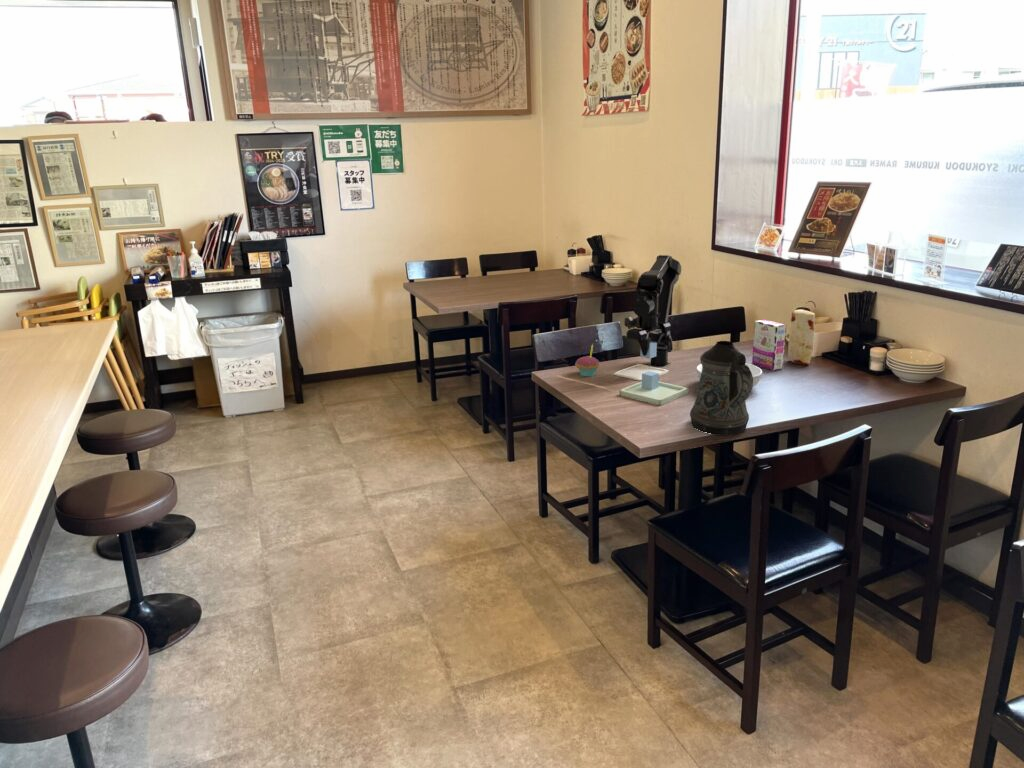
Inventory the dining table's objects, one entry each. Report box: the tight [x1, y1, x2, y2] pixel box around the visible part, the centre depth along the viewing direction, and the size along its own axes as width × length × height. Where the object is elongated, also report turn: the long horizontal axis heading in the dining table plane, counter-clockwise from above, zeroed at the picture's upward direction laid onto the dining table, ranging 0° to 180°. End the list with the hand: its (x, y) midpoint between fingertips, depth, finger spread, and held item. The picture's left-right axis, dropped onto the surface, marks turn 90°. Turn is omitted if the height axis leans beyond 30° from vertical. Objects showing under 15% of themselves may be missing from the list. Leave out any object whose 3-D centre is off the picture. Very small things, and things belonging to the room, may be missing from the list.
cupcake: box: [574, 344, 600, 377], centre depth 266 cm, size 9×8×12 cm
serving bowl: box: [696, 362, 763, 389], centre depth 249 cm, size 21×21×7 cm
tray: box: [618, 380, 689, 407], centre depth 246 cm, size 16×16×2 cm
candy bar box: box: [751, 319, 787, 372], centre depth 269 cm, size 11×5×16 cm, turn 25°
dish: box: [612, 363, 670, 382], centre depth 267 cm, size 15×13×1 cm
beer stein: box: [689, 340, 754, 436], centre depth 213 cm, size 16×19×25 cm
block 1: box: [639, 341, 657, 360], centre depth 262 cm, size 4×4×5 cm
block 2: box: [642, 371, 660, 390], centre depth 249 cm, size 4×4×5 cm
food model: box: [787, 308, 816, 366], centre depth 271 cm, size 10×7×20 cm
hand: (648, 354), depth 262 cm, fingers closed on block 1, 4 cm apart
